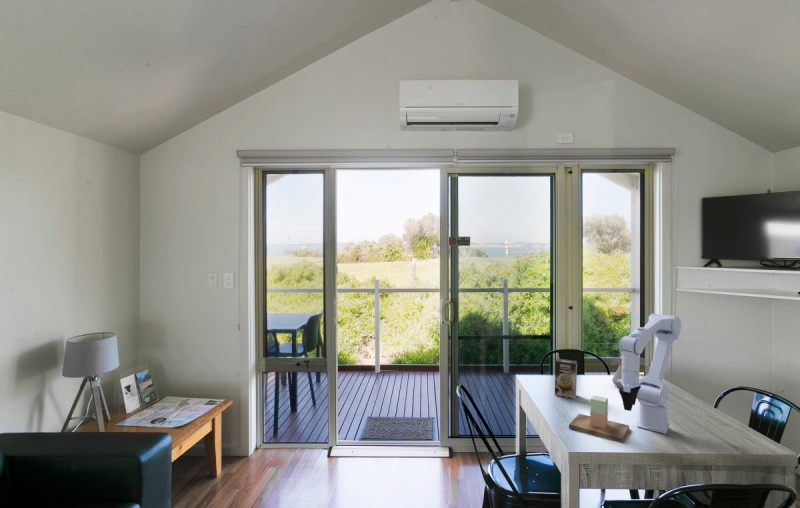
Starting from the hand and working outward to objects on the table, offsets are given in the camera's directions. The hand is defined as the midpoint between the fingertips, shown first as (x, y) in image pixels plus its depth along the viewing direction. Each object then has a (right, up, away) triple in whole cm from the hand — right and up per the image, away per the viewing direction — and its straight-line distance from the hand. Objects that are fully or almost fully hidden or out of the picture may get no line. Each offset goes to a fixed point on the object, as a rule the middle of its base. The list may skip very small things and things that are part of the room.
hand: (629, 407), depth 151 cm
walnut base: (-8, -10, +6) cm, 14 cm away
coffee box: (-6, -11, +43) cm, 45 cm away
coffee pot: (+27, -11, +51) cm, 59 cm away
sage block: (-8, -4, +6) cm, 11 cm away
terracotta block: (-9, -9, +6) cm, 13 cm away
